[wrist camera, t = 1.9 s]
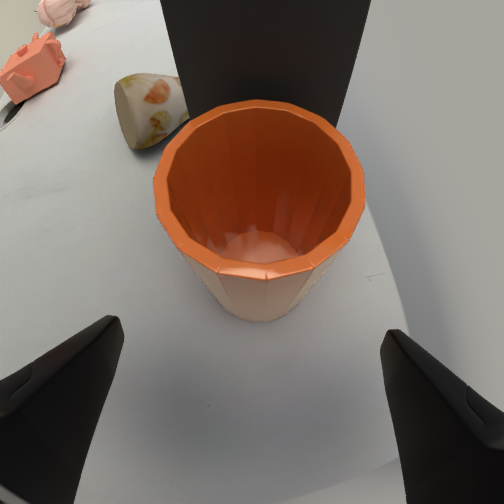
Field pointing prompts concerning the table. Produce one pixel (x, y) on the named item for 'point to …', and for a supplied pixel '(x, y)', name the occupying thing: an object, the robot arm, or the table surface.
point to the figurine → (59, 11)
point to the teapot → (32, 68)
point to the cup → (259, 202)
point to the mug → (149, 108)
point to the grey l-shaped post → (265, 51)
